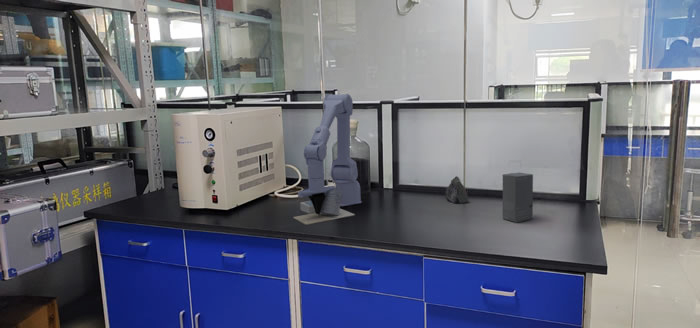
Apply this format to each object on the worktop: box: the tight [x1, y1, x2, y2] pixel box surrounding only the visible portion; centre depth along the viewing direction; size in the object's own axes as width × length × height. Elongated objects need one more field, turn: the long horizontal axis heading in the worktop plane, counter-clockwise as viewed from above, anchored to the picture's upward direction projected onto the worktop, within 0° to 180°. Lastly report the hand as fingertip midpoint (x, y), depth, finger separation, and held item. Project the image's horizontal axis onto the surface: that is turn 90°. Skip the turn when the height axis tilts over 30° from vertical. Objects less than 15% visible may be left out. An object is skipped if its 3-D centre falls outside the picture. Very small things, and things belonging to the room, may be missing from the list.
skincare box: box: [502, 172, 534, 224], centre depth 168 cm, size 8×7×16 cm
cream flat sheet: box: [292, 207, 356, 226], centre depth 181 cm, size 20×11×1 cm, turn 120°
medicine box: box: [320, 190, 342, 215], centre depth 182 cm, size 8×4×9 cm, turn 58°
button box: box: [299, 200, 315, 214], centre depth 190 cm, size 8×8×3 cm
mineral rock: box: [445, 175, 469, 204], centre depth 198 cm, size 13×11×10 cm
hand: (317, 213), depth 180 cm, fingers closed
